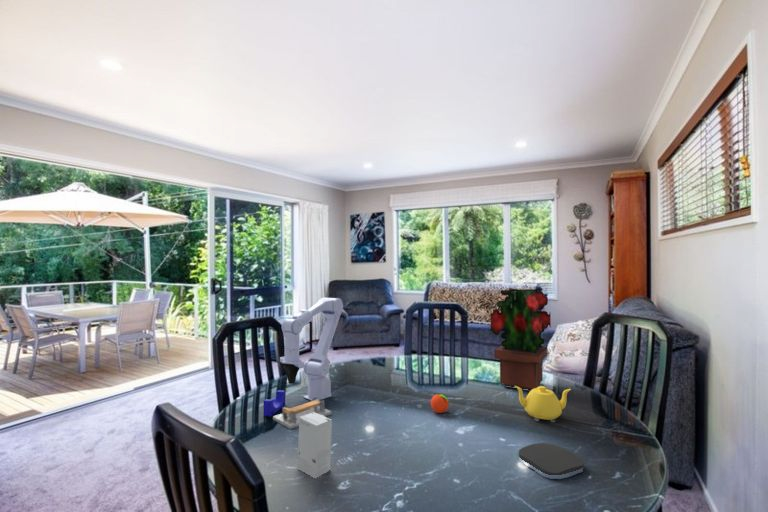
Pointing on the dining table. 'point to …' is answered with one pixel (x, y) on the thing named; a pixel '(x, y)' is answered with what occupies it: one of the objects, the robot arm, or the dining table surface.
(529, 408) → the teapot
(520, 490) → the dining table surface
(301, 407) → the light brown wooden bar
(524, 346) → the potted plant
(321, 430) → the skincare box
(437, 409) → the clementine
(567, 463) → the media streaming box
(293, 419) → the mount
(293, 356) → the robot arm
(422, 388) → the dining table surface
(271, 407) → the blue notched block
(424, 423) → the dining table surface
